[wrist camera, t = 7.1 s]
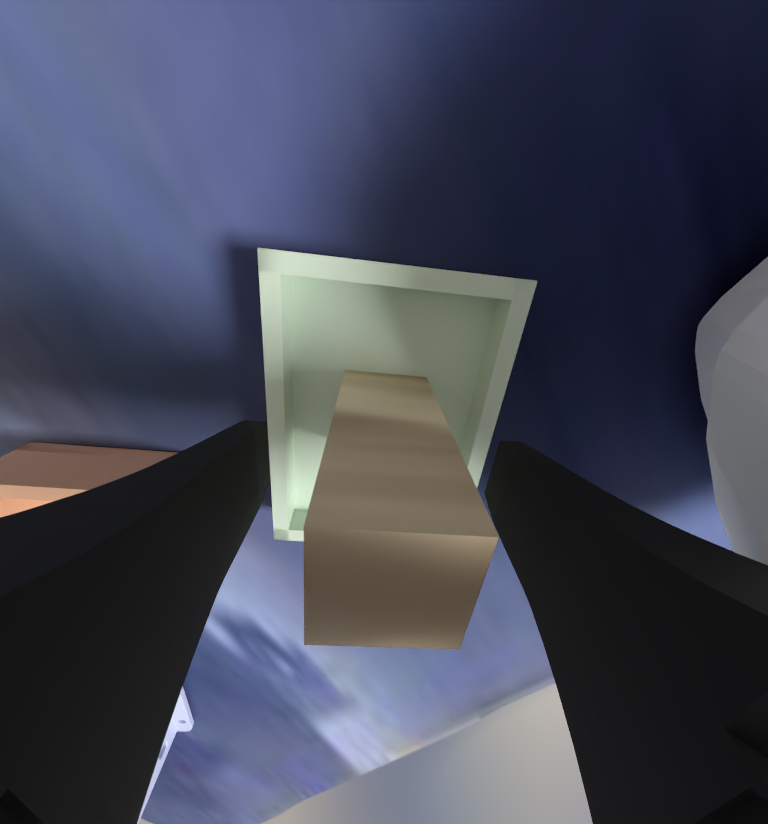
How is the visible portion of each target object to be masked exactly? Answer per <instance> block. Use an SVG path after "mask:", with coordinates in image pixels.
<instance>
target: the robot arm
mask: <svg viewBox="0 0 768 824" xmlns="http://www.w3.org/2000/svg"><path fill="white" fill-rule="evenodd" d="M269 478H270V475H269V458H268V441H267V424H266V422H261V421H249V420H245V421H242V422H240V423H237V424H235V425H233V426H231V427H229V428H227V429H225V430H223V431H221V432H219V433H217V434H215V435H213V436H211V437H209V438H207V439H206V440H204V441H202V442H200V443H198V444H196V445H194V446H192V447H190V448H188V449H186V450H184V451H181V452H179V453H177V454H175V455H173V456H171V457H168V458H166V459H164V460H162V461H160V462H158V463H155V464H153V465H151V466H149V467H147V468H144V469H142V470H140V471H137V472H135V473H132V474H130V475H127V476H125V477H122V478H120V479H117V480H114V481H112V482H109V483H106V484H104V485H101V486H98V487H96V488H93V489H90V490H87V491H84V492H81V493H78V494H75V495H72V496H69V497H66V498H62V499H59V500H56V501H53V502H50V503H47V504H44V505H41V506H37V507H34V508H31V509H28V510H25V511H21V512H18V513H15V514H11V515H7V516H4V517H0V824H138V823H139V820H140V818H141V816H142V813H143V811H144V808H145V806H146V804H147V801H148V799H149V796H150V794H151V792H152V789H153V787H154V785H155V782H156V780H157V777H158V775H159V773H160V770H161V768H162V765H163V763H164V761H165V758H166V756H167V753H168V751H169V749H170V746H171V744H172V742H173V739H174V737H175V734H176V732H177V731H190V730H191V729H192V727H193V724H194V721H193V718H192V714H191V711H190V708H189V705H188V702H187V698H186V695H185V692H184V689H183V683H184V681H185V678H186V675H187V672H188V670H189V667H190V664H191V661H192V659H193V656H194V653H195V651H196V648H197V645H198V642H199V640H200V637H201V634H202V632H203V629H204V626H205V624H206V621H207V619H208V616H209V614H210V611H211V608H212V606H213V603H214V601H215V598H216V596H217V593H218V591H219V589H220V587H221V584H222V582H223V580H224V578H225V576H226V574H227V572H228V570H229V568H230V566H231V564H232V562H233V560H234V558H235V556H236V554H237V552H238V550H239V548H240V546H241V544H242V542H243V540H244V538H245V536H246V534H247V532H248V530H249V528H250V526H251V524H252V522H253V520H254V518H255V516H256V514H257V512H258V510H259V508H260V505H261V502H262V499H263V497H264V494H265V491H266V488H267V485H268V482H269ZM485 495H486V499H487V503H488V507H489V510H490V513H491V516H492V520H493V522H494V525H495V527H496V529H497V532H498V534H499V536H500V538H501V541H502V543H503V545H504V547H505V550H506V552H507V554H508V556H509V558H510V561H511V563H512V565H513V567H514V569H515V572H516V574H517V576H518V578H519V580H520V583H521V585H522V587H523V589H524V591H525V594H526V596H527V599H528V601H529V604H530V606H531V609H532V612H533V615H534V618H535V621H536V624H537V627H538V629H539V632H540V635H541V638H542V641H543V644H544V647H545V650H546V654H547V657H548V660H549V663H550V666H551V670H552V673H553V676H554V679H555V682H556V685H557V689H558V692H559V696H560V699H561V702H562V706H563V710H564V713H565V717H566V720H567V724H568V727H569V731H570V734H571V738H572V742H573V745H574V749H575V753H576V757H577V761H578V765H579V769H580V773H581V777H582V781H583V785H584V789H585V793H586V796H587V801H588V805H589V809H590V813H591V817H592V822H593V824H768V565H766V564H763V563H761V562H758V561H755V560H753V559H750V558H748V557H745V556H743V555H740V554H737V553H735V552H733V551H730V550H728V549H725V548H723V547H721V546H718V545H716V544H713V543H711V542H709V541H706V540H704V539H701V538H699V537H697V536H694V535H692V534H690V533H688V532H685V531H683V530H681V529H679V528H677V527H674V526H672V525H670V524H668V523H666V522H664V521H662V520H660V519H658V518H656V517H654V516H651V515H649V514H647V513H645V512H643V511H641V510H639V509H637V508H635V507H633V506H631V505H629V504H628V503H626V502H624V501H622V500H620V499H618V498H617V497H615V496H613V495H611V494H609V493H607V492H606V491H604V490H602V489H600V488H598V487H597V486H595V485H593V484H592V483H590V482H588V481H586V480H585V479H583V478H581V477H580V476H578V475H576V474H575V473H573V472H571V471H570V470H568V469H566V468H565V467H563V466H561V465H560V464H558V463H556V462H555V461H553V460H551V459H550V458H548V457H547V456H545V455H543V454H541V453H540V452H538V451H536V450H534V449H533V448H531V447H529V446H527V445H525V444H523V443H520V442H513V441H500V444H499V447H498V450H497V454H496V457H495V460H494V463H493V467H492V470H491V473H490V477H489V480H488V483H487V486H486V490H485Z"/></svg>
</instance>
